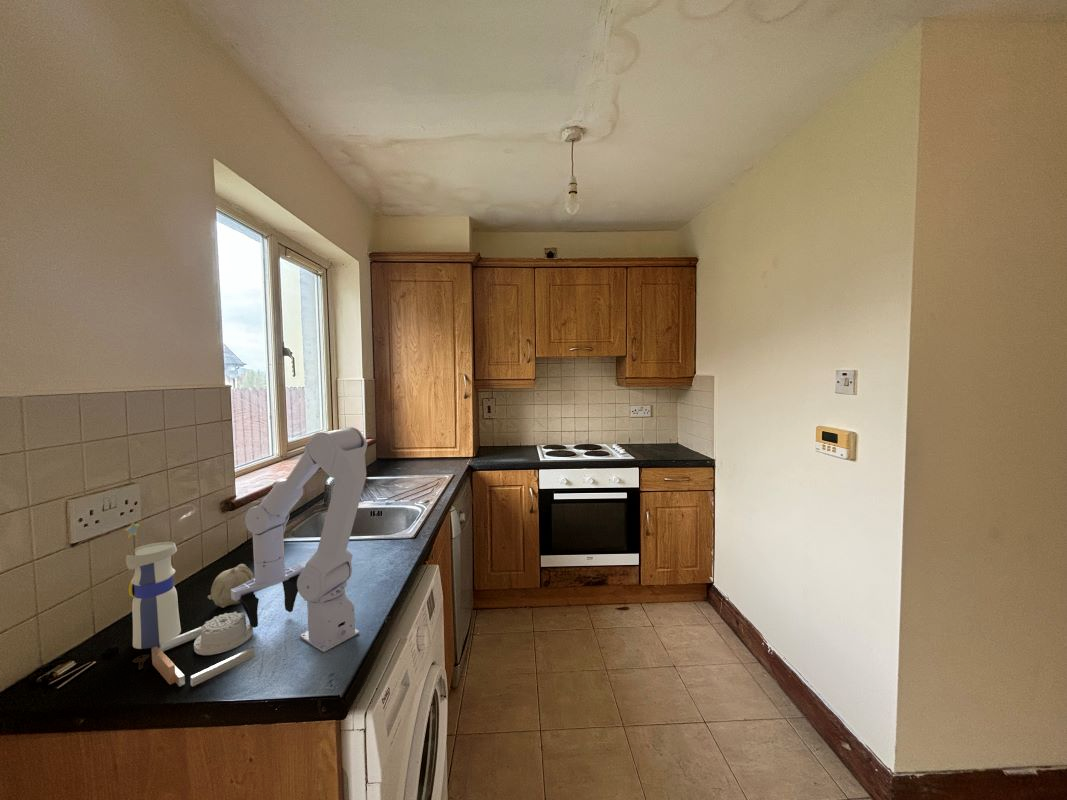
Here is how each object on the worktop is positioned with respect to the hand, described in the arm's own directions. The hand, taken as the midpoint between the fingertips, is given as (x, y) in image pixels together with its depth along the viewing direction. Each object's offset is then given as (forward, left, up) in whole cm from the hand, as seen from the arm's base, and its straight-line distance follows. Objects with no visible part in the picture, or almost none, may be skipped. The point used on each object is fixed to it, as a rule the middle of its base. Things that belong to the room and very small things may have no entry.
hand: (272, 617), depth 95 cm
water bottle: (+15, +16, -2) cm, 22 cm away
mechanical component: (+2, +9, -2) cm, 9 cm away
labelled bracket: (0, +13, -1) cm, 13 cm away
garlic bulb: (+18, +1, -2) cm, 18 cm away
